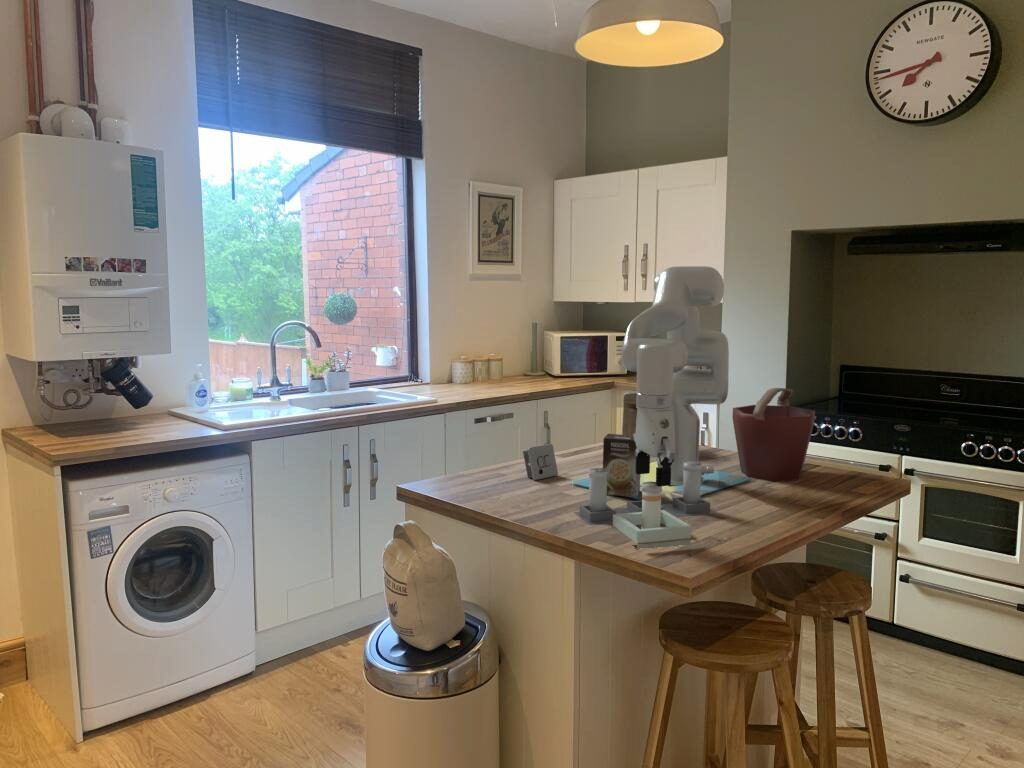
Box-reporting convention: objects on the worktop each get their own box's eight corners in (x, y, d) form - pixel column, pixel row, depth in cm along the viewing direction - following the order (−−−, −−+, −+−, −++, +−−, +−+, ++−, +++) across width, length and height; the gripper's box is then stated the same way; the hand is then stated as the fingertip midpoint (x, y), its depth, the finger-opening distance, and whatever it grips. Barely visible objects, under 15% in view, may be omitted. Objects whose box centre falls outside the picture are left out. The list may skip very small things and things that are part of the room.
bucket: (766, 461, 241) (769, 381, 238) (832, 475, 223) (837, 389, 220) (715, 473, 226) (718, 388, 223) (782, 488, 209) (786, 396, 205)
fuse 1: (602, 513, 181) (603, 467, 179) (609, 518, 177) (610, 471, 175) (585, 515, 180) (586, 468, 178) (592, 520, 176) (593, 472, 174)
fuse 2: (694, 505, 188) (695, 460, 186) (703, 510, 184) (705, 464, 182) (678, 506, 186) (680, 462, 185) (687, 511, 182) (688, 465, 181)
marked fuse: (655, 529, 170) (656, 480, 169) (664, 535, 166) (665, 485, 165) (637, 531, 169) (638, 482, 168) (646, 537, 165) (647, 487, 164)
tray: (663, 527, 176) (663, 509, 175) (690, 544, 164) (691, 526, 163) (612, 531, 172) (613, 514, 172) (637, 550, 160) (637, 531, 160)
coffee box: (600, 499, 198) (601, 437, 196) (606, 493, 204) (607, 433, 202) (636, 503, 195) (638, 440, 193) (640, 496, 201) (642, 435, 199)
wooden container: (658, 456, 248) (659, 388, 245) (614, 451, 255) (616, 385, 252) (673, 448, 260) (675, 383, 258) (631, 443, 268) (633, 380, 265)
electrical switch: (534, 481, 217) (532, 448, 216) (522, 479, 220) (520, 447, 220) (558, 476, 223) (556, 443, 222) (546, 474, 227) (544, 442, 226)
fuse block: (695, 507, 191) (695, 493, 191) (716, 519, 181) (717, 504, 181) (573, 518, 182) (573, 503, 182) (589, 531, 173) (589, 516, 172)
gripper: (690, 407, 157) (688, 489, 160) (651, 393, 174) (650, 468, 176) (656, 409, 155) (655, 492, 158) (620, 395, 171) (619, 470, 174)
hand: (652, 479), depth 167 cm, fingers open, 9 cm apart
